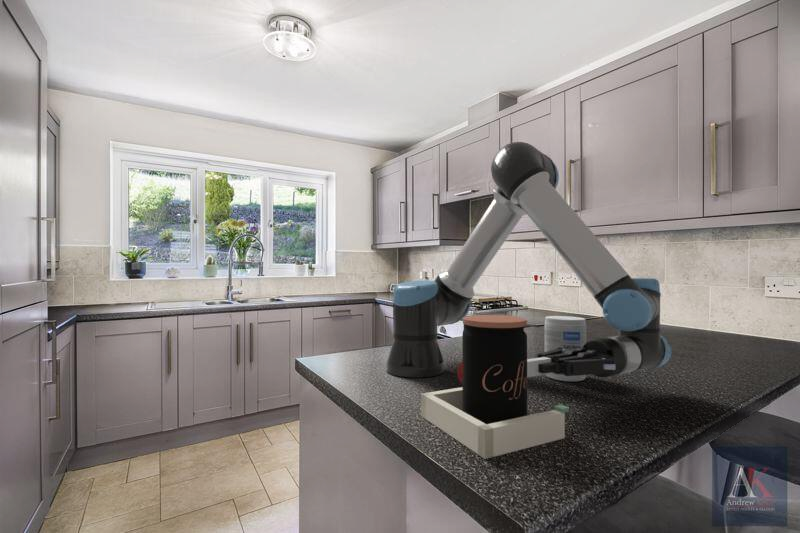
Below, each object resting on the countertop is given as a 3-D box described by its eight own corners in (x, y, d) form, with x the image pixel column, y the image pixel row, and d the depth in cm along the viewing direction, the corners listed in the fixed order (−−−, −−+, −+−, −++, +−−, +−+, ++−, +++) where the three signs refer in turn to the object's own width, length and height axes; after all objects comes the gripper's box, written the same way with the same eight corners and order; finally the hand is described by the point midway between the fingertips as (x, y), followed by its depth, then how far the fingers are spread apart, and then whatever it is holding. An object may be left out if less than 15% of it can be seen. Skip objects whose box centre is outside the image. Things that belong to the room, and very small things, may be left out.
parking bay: (421, 415, 70) (421, 390, 70) (493, 402, 77) (493, 379, 77) (485, 459, 54) (485, 425, 54) (569, 437, 61) (569, 407, 61)
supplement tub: (569, 385, 89) (569, 320, 90) (536, 375, 98) (535, 316, 98) (595, 379, 94) (594, 318, 95) (560, 370, 103) (560, 314, 103)
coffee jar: (481, 442, 59) (481, 323, 60) (452, 417, 70) (451, 316, 70) (541, 433, 62) (540, 320, 63) (504, 410, 73) (504, 314, 73)
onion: (463, 384, 90) (463, 349, 90) (487, 388, 87) (487, 352, 87) (453, 391, 85) (453, 354, 85) (478, 395, 82) (478, 357, 82)
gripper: (642, 383, 73) (550, 401, 62) (581, 367, 84) (496, 381, 74) (641, 342, 73) (550, 354, 62) (581, 332, 84) (496, 341, 74)
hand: (521, 369), depth 68 cm, fingers closed
